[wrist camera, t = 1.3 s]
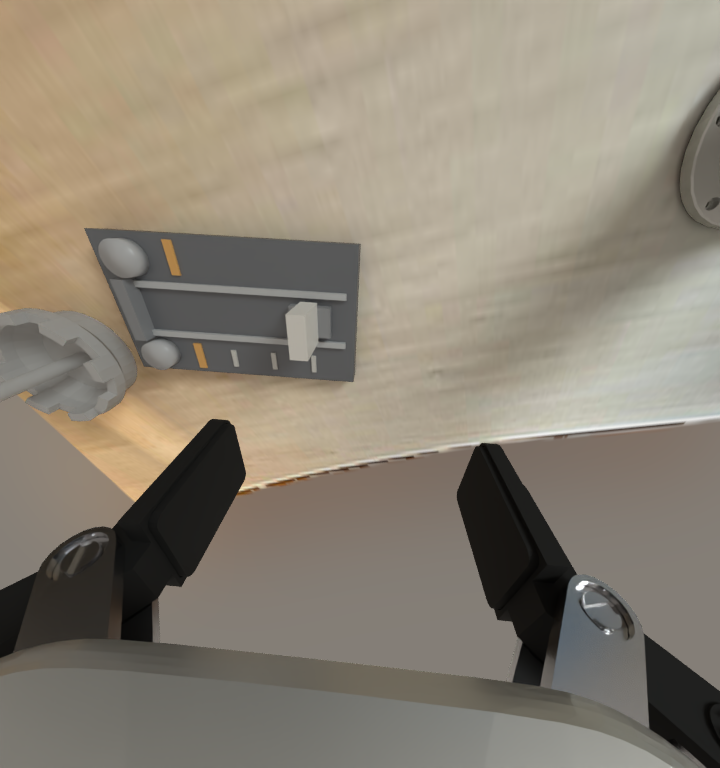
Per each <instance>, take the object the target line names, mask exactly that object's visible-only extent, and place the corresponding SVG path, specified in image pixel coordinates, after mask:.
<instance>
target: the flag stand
mask: <svg viewBox="0 0 720 768" xmlns="http://www.w3.org/2000/svg"><path fill="white" fill-rule="evenodd" d="M136 377H137V366H136V362H135V359H134V357H133V355H132V353H131V351H130V350H129V348H128V347H127V345H126V344H125V343H124V342H123V341H122V339H121V338H120V337H119V336H118V335H117V334H116V333H114V332H113V331H112V330H111V329H110V328H108V327H107V326H106V325H104V324H103V323H101V322H99V321H98V320H96V319H94V318H92V317H90V316H87V315H85V314H82V313H78V312H74V311H59V312H54V313H52V312H49V311H45V310H40V309H32V308H24V309H18V310H13V311H8V312H4V313H0V402H1V401H4V400H6V399H8V398H10V397H13V396H15V395H17V394H20V393H22V392H24V391H26V390H27V391H28V392H29V393H31V394H32V395H33V396H31V397H29V398H27V400H26V401H25V403H27V404H28V405H30V406H32V407H34V408H36V409H38V410H40V411H42V412H44V413H47V414H51V413H52V412H54V411H56V410H58V409H61V410H64V411H67V412H69V413H68V416H69V417H70V419H71V421H89V420H92V419H93V418H95V417H96V416H98V415H99V414H102V413H105V412H107V411H109V410H110V409H112V408H113V407H115V406H116V405H118V404H119V403H120V402H121V401H122V399H123V398H124V395H125V391H126V389H127V388H129V387H130V386H131V385H133V383H134V382H135V380H136Z"/></svg>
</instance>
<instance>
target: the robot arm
mask: <svg viewBox="0 0 720 768" xmlns="http://www.w3.org/2000/svg"><path fill="white" fill-rule="evenodd" d="M680 192H681V199H682V202H683V204H684V207H685V209H686V211H687V213H688V214H689V215H690V216H691V217H692V218H693V219H694V220H695V221H697V222H699V223H701V224H703V225H705V226H707V227H712V228H718V229H720V89H719V91H718V92H717V94H716V95H715V96H714V98H713V99H712V101H711V102H710V103H709V105H708V107H707V108H706V110H705V112H704V114H703V115H702V117H701V119H700V121H699V122H698V124H697V126H696V128H695V130H694V132H693V135H692V137H691V139H690V142H689V144H688V147H687V149H686V152H685V156H684V160H683V164H682V168H681V176H680ZM245 476H246V471H245V467H244V463H243V459H242V455H241V451H240V447H239V443H238V439H237V435H236V431H235V427H234V425H232V424H231V423H230V422H229V421H228V420H219V419H212V420H210V421H209V422H208V423H207V424H206V425H205V426H204V427H203V428H202V429H201V431H200V432H199V433H198V434H197V435H196V436H195V437H194V438H193V439H192V440H191V442H190V443H189V444H188V445H187V446H186V447H185V448H184V449H183V450H182V451H181V453H180V454H179V455H178V456H177V457H176V458H175V459H174V460H173V461H172V462H171V464H170V465H169V466H168V467H167V468H166V469H165V470H164V471H163V472H162V473H161V475H160V476H159V477H158V478H157V479H156V480H155V481H154V482H153V483H152V484H151V486H150V487H149V488H148V489H147V490H146V491H145V492H144V493H143V494H142V496H141V497H140V498H139V499H138V500H137V501H136V502H135V503H134V504H133V505H132V507H131V508H130V509H129V510H128V511H127V512H126V513H125V514H124V515H123V517H122V518H121V519H120V520H119V521H118V523H117V524H116V525H115V526H114V527H113V528H112V529H111V528H108V527H95V528H91V529H88V530H85V531H83V532H80V533H78V534H76V535H74V536H72V537H71V538H69V539H68V540H66V541H65V542H63V543H62V544H60V545H59V546H58V547H57V548H56V549H55V550H53V551H52V552H51V553H50V554H49V555H48V557H47V558H46V559H45V560H44V562H43V563H42V564H41V566H40V568H39V570H38V572H36V573H34V574H32V575H30V576H28V577H26V578H24V579H22V580H20V581H18V582H16V583H14V584H12V585H10V586H8V587H6V588H4V589H2V590H0V768H720V691H719V690H717V689H716V688H715V687H713V686H712V685H711V684H709V683H708V682H707V681H706V680H704V679H703V678H702V677H700V676H699V675H698V674H696V673H695V672H693V671H692V670H691V669H690V668H688V667H687V666H686V665H684V664H683V663H682V662H681V661H679V660H678V659H677V658H675V657H674V656H673V655H671V654H670V653H669V652H667V651H666V650H665V649H663V648H662V647H661V646H660V645H658V644H657V643H655V642H654V641H653V640H652V639H650V638H649V637H648V636H646V635H645V634H644V633H643V629H642V626H641V624H640V622H639V620H638V618H637V616H636V614H635V613H634V611H633V610H632V608H631V607H630V606H629V605H628V603H627V602H626V601H625V600H624V599H623V598H622V597H621V596H620V595H619V594H618V593H617V592H616V591H615V590H613V589H612V588H611V587H609V586H608V585H607V584H605V583H604V582H602V581H600V580H598V579H596V578H595V577H591V576H588V575H577V574H576V572H575V570H574V568H573V567H572V565H571V563H570V562H569V560H568V558H567V556H566V555H565V553H564V551H563V550H562V548H561V546H560V545H559V543H558V541H557V540H556V538H555V536H554V534H553V532H552V531H551V529H550V527H549V526H548V524H547V522H546V521H545V519H544V517H543V515H542V514H541V512H540V510H539V509H538V507H537V505H536V503H535V502H534V500H533V498H532V497H531V495H530V493H529V491H528V490H527V488H526V487H525V486H524V485H523V484H522V482H521V481H520V479H519V477H518V475H517V474H516V472H515V470H514V468H513V467H512V465H511V463H510V462H509V460H508V458H507V456H506V455H505V453H504V451H503V449H502V448H501V447H500V445H498V444H488V443H481V444H480V446H479V447H478V446H476V447H475V449H474V452H473V454H472V456H471V459H470V461H469V464H468V466H467V469H466V471H465V474H464V477H463V479H462V481H461V484H460V486H459V489H458V491H457V501H458V505H459V508H460V511H461V515H462V518H463V521H464V525H465V528H466V532H467V535H468V538H469V542H470V545H471V548H472V551H473V555H474V559H475V562H476V565H477V568H478V572H479V575H480V579H481V582H482V585H483V589H484V592H485V596H486V599H487V601H488V604H489V606H490V607H491V608H494V610H495V613H496V616H497V620H503V621H512V622H513V625H514V628H515V631H516V634H517V637H518V639H517V643H516V647H515V650H514V654H513V658H512V661H511V665H510V668H509V672H508V675H507V680H506V682H505V681H498V680H491V679H483V678H476V677H468V676H459V675H451V674H442V673H432V672H425V671H416V670H407V669H399V668H390V667H380V666H372V665H363V664H354V663H345V662H336V661H327V660H318V659H309V658H300V657H291V656H282V655H272V654H263V653H254V652H244V651H235V650H234V651H233V650H225V649H216V648H206V647H197V646H187V645H177V644H166V643H160V627H159V602H158V597H159V595H160V594H161V592H162V590H163V589H164V587H165V586H166V585H169V586H179V587H181V586H182V585H183V583H184V581H185V579H186V578H187V577H188V576H190V575H192V574H193V572H194V571H195V570H196V568H197V566H198V564H199V562H200V561H201V559H202V557H203V555H204V553H205V551H206V550H207V548H208V546H209V544H210V542H211V540H212V539H213V537H214V535H215V533H216V531H217V529H218V528H219V526H220V524H221V522H222V520H223V518H224V516H225V515H226V513H227V511H228V509H229V507H230V506H231V504H232V502H233V500H234V498H235V496H236V495H237V493H238V491H239V489H240V487H241V485H242V484H243V482H244V480H245Z"/></svg>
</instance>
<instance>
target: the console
mask: <svg viewBox="0 0 720 768" xmlns="http://www.w3.org/2000/svg"><path fill="white" fill-rule="evenodd" d="M84 229H85V231H86V234H87V236H88V238H89V241H90V243H91V245H92V247H93V250H94V252H95V254H96V257H97V259H98V261H99V264H100V266H101V268H102V271H103V273H104V275H105V277H106V280H107V282H108V284H109V287H110V289H111V291H112V294H113V296H114V298H115V300H116V303H117V305H118V307H119V310H120V312H121V314H122V317H123V319H124V321H125V324H126V326H127V328H128V330H129V333H130V335H131V337H132V340H133V342H134V344H135V347H136V349H137V351H138V353H139V356H140V358H141V360H142V363H143V365H144V366H146V367H154V368H156V369H160V370H166V369H168V368H173V369H186V370H200V371H213V372H227V373H240V374H253V375H267V376H280V377H293V378H307V379H320V380H334V381H347V382H353V381H354V375H355V356H356V333H357V311H358V289H359V266H360V244H354V243H337V242H320V241H303V240H286V239H269V238H252V237H236V236H219V235H202V234H185V233H168V232H151V231H135V230H118V229H94V228H84ZM299 302H312V303H317V306H331V334H332V335H331V338H330V339H327V338H318V344H317V346H316V348H315V350H314V351H313V353H312V355H311V357H310V359H309V360H308V361H296V360H290V356H289V346H288V336H287V327H286V317H285V314H287V313H288V312H289V309H288V306H289V305H290V304H298V303H299Z"/></svg>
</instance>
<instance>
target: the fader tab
mask: <svg viewBox="0 0 720 768" xmlns="http://www.w3.org/2000/svg"><path fill="white" fill-rule="evenodd" d="M288 309H289V312H288V313H287V314H285V317H286V327H287V336H288V346H289V356H290V360H296V361H308V360H309V359H310V357H311V355H312V353H313V351H314V350H315V348H316V346H317V344H318V338H327V339H330V338H331V335H332V334H331V306H317V303H312V302H299V303H298V304H290V305H289V306H288Z"/></svg>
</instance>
